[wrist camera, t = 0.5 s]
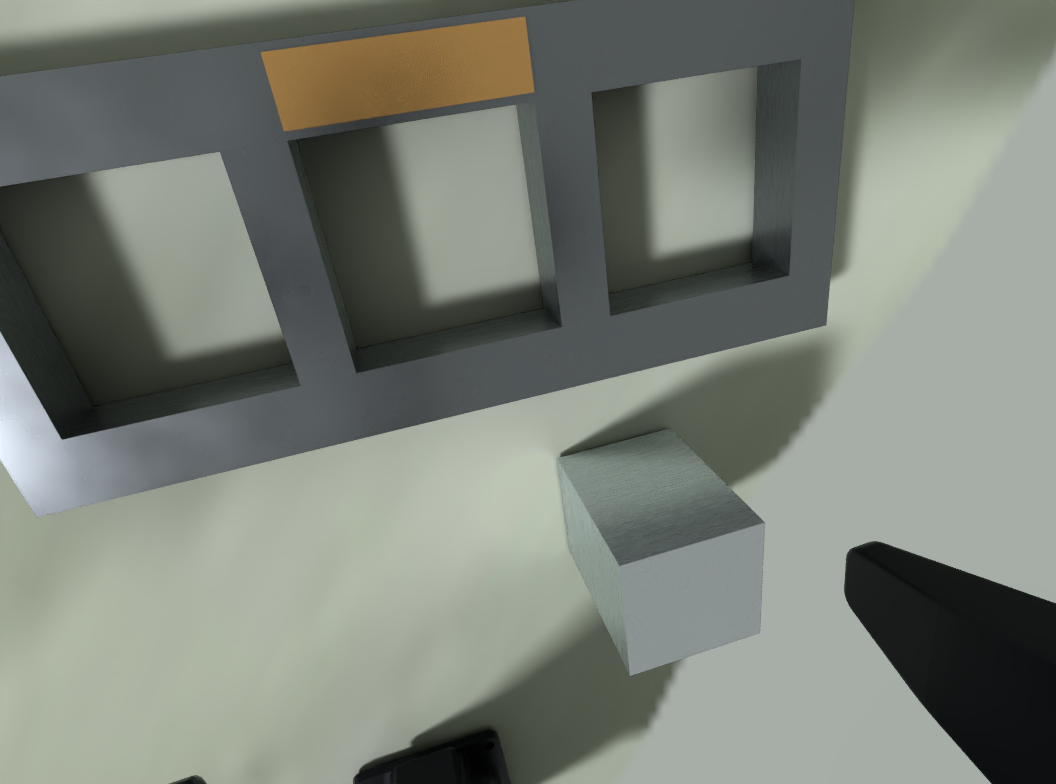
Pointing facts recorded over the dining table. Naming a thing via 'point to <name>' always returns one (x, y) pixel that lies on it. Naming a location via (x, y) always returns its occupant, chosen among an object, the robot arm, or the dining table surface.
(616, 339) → the grey slotted frame
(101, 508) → the dining table surface
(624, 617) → the steel block
